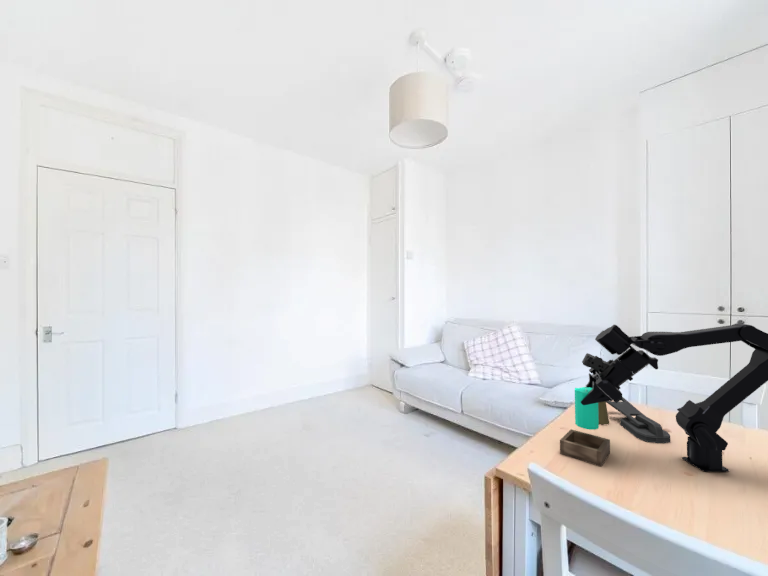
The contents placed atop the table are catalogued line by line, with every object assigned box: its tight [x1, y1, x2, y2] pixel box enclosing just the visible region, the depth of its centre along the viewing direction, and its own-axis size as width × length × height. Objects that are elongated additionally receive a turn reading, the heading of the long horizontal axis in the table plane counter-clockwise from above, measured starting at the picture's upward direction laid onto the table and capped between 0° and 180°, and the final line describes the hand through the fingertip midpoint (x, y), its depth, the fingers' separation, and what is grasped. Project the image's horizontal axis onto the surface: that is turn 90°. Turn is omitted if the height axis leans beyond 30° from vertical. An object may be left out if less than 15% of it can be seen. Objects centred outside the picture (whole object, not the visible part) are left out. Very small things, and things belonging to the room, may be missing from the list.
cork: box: [598, 401, 610, 425], centre depth 116 cm, size 6×6×11 cm
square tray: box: [559, 428, 611, 467], centre depth 94 cm, size 10×10×4 cm
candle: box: [574, 386, 600, 431], centre depth 97 cm, size 6×6×12 cm
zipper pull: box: [606, 396, 671, 444], centre depth 111 cm, size 9×7×25 cm
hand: (580, 400), depth 98 cm, fingers closed on candle, 5 cm apart
